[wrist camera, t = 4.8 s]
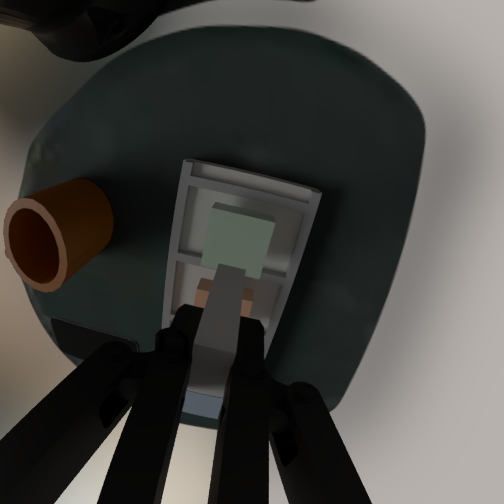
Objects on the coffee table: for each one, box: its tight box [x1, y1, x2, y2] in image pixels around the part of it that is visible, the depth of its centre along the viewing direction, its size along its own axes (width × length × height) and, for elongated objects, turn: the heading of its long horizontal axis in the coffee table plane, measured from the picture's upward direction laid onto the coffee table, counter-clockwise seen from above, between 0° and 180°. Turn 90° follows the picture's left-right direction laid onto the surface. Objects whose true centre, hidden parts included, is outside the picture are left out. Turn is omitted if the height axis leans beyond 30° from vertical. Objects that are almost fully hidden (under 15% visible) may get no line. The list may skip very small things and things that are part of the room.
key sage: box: [200, 202, 275, 279], centre depth 22 cm, size 5×5×2 cm
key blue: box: [182, 390, 224, 419], centre depth 30 cm, size 5×5×2 cm
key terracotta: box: [194, 278, 254, 317], centre depth 25 cm, size 5×5×2 cm
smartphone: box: [51, 317, 138, 360], centre depth 34 cm, size 7×1×15 cm
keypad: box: [162, 158, 322, 360], centre depth 29 cm, size 31×12×3 cm, turn 166°
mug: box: [3, 178, 113, 292], centre depth 22 cm, size 9×12×9 cm
